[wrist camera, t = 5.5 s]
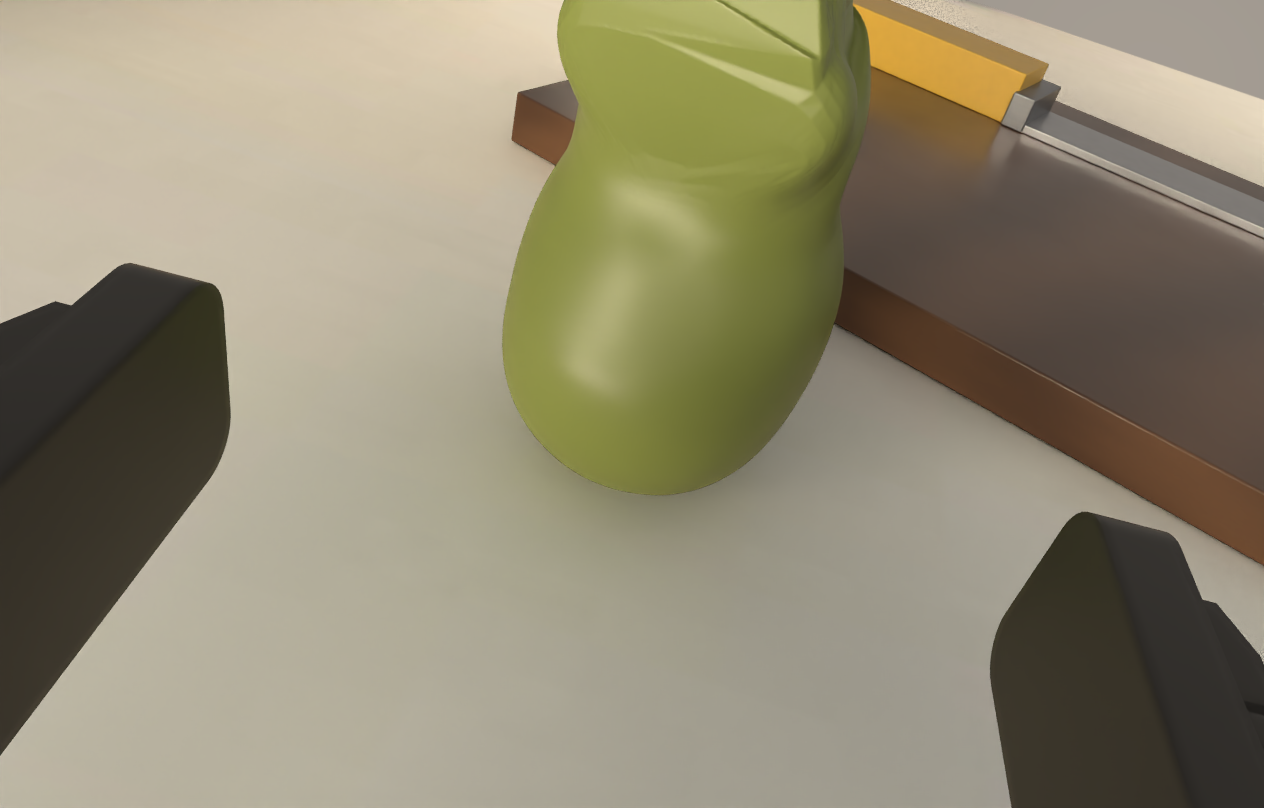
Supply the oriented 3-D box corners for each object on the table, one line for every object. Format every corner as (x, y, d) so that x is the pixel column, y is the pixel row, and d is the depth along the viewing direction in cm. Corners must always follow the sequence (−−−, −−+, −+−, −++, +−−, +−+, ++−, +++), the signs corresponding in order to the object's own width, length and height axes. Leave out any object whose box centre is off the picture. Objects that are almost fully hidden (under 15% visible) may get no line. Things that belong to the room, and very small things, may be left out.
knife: (789, 32, 38) (803, -16, 37) (824, 23, 40) (838, -23, 39) (1419, 307, 29) (1462, 255, 28) (1424, 279, 31) (1465, 229, 30)
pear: (804, 449, 20) (1013, -61, 14) (689, 606, 16) (911, -4, 10) (579, 334, 22) (681, -168, 16) (425, 453, 18) (483, -155, 12)
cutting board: (510, 139, 29) (516, 91, 28) (832, 46, 43) (843, 11, 42) (1373, 628, 20) (1425, 579, 19) (1431, 307, 33) (1462, 269, 32)
